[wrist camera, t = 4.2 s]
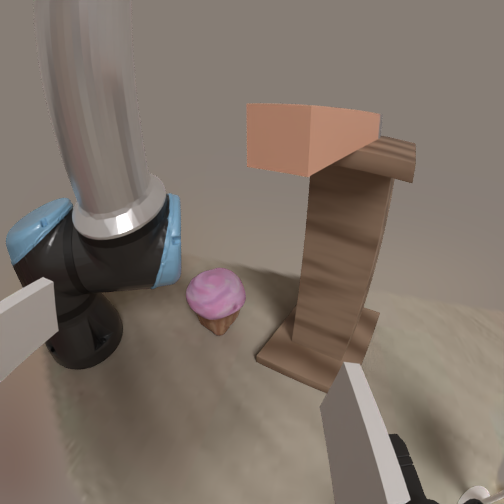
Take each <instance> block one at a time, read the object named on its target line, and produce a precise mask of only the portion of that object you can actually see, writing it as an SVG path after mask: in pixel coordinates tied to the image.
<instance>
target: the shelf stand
mask: <svg viewBox="0 0 504 504" xmlns="http://www.w3.org/2000/svg"><path fill="white" fill-rule="evenodd" d="M415 150H416V147H415V143H411V142H407V141H403V140H398V139H394V138H390V137H385V136H380V138H379V139H377V140H376V141H374V142H372V143H370V144H368V145H366V146H364V147H362V148H360V149H358V150H356V151H355V152H353V153H351V154H349V155H347V156H345V157H343V158H342V159H340V160H338V161H336V162H334V163H332V164H331V165H329V166H327V167H325V168H323V169H321V170H320V171H318V172H316V173H314V174H312V175H311V176H310V184H309V197H308V210H307V221H306V231H305V241H304V251H303V260H302V269H301V277H300V285H299V293H298V301H297V305H296V306H295V307H294V309H293V310H292V311H291V313H290V314H289V315H288V317H287V318H286V319H285V320H284V322H283V323H282V324H281V326H280V327H279V328H278V329H277V331H276V332H275V333H274V335H273V336H272V337H271V338H270V340H269V341H268V342H267V343H266V345H265V346H264V347H263V348H262V349H261V351H260V352H259V353H258V354H257V356H256V362H258V363H260V364H262V365H264V366H266V367H268V368H271V369H273V370H275V371H277V372H279V373H281V374H283V375H286V376H288V377H290V378H292V379H294V380H297V381H299V382H301V383H304V384H306V385H308V386H311V387H313V388H315V389H318V390H320V391H323V392H325V393H328V391H329V389H330V387H331V385H332V384H333V382H334V380H335V378H336V376H337V374H338V372H339V370H340V368H341V366H342V364H343V362H349V363H357V364H360V366H361V364H362V362H363V359H364V357H365V354H366V351H367V349H368V346H369V343H370V341H371V338H372V335H373V332H374V329H375V326H376V323H377V320H378V317H379V314H380V313H379V312H376V311H373V310H370V309H367V308H364V304H365V301H366V297H367V294H368V291H369V288H370V284H371V281H372V277H373V274H374V270H375V267H376V263H377V259H378V255H379V251H380V247H381V243H382V239H383V234H384V231H385V226H386V221H387V217H388V212H389V207H390V202H391V196H392V190H393V185H394V179H398V180H402V181H406V182H409V183H412V182H413V177H414V171H415V164H416V151H415Z"/></svg>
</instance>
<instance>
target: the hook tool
mask: <svg viewBox="0 0 504 504" xmlns="http://www.w3.org/2000/svg"><path fill="white" fill-rule="evenodd" d="M381 124H382V114H377V113H372V112H366V111H359V110H352V109H345V108H337V107H324V106H312V105H297V104H247V167H251V168H258V169H264V170H271V171H277V172H283V173H289V174H294V175H299V176H304V177H309V176H311V175H312V174H314V173H316V172H318V171H320V170H321V169H323V168H325V167H327V166H329V165H331V164H332V163H334V162H336V161H338V160H340V159H342V158H343V157H345V156H347V155H349V154H351V153H353V152H355V151H356V150H358V149H360V148H362V147H364V146H366V145H368V144H370V143H372V142H374V141H376V140H377V139H379V138H380V136H381Z"/></svg>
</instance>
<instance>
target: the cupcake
mask: <svg viewBox="0 0 504 504" xmlns="http://www.w3.org/2000/svg"><path fill="white" fill-rule="evenodd" d="M186 299H187V302H188V304H189V306H190V307H191V308H192V310H193V311H195V312H196V313H197V316H198V318H199V321H200V323H201V324H202V325H203V326H205V327H206V328H207V329H209V330H211V331H212V332H213V333H214V334H216V335H223V334H224V333H225V332H226V331H227V329H228V328H229V326H230V325H231V324H232V323H233V322H234V321H235V319H236V318H237V316H238V314H239V311H240V308H241V307H242V306H243V304H244V302H245V299H246V295H245V290H244V287H243V285H242V282H241V280H240V279H239V277H238V276H237V275H236V274H235V273H233V272H232V271H230V270H228V269H225V268H216V269H212V270H209V271H204V272H202V273H200V274H199V275H197V276H196V277H194V278H193V279H192V280H191V282H190V284H189V285H188V287H187V290H186Z"/></svg>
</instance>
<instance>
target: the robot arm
mask: <svg viewBox="0 0 504 504" xmlns="http://www.w3.org/2000/svg"><path fill="white" fill-rule="evenodd" d="M34 26H35V38H36V47H37V55H38V63H39V68H40V75H41V80H42V85H43V91H44V95H45V100H46V104H47V109H48V113H49V117H50V120H51V124H52V127H53V131H54V135H55V138H56V142H57V145H58V148H59V151H60V154H61V157H62V160H63V163H64V166H65V169H66V172H67V175H68V178H69V180H70V182H71V186H72V188H73V191H74V193H75V196H76V198H77V202H76V203H75V206H74V208H73V204H72V203H71V201H70V200H69V199H68V198H60V199H57V200H54V201H51V202H49V203H47V204H44V205H43V206H41V207H39V208H37V209H35V210H33V211H32V212H30V213H29V214H27V215H26V216H24V217H23V218H22V219H20V220H19V221H18V222H17V223H16V224H15V225H14V226H13V227H12V228H11V229H10V231H9V232H8V234H7V238H6V246H7V249H8V252H9V255H10V258H11V263H12V265H13V267H14V270H15V272H16V274H17V276H18V278H19V280H20V282H21V284H22V287H23V288H22V289H21V290H19V291H17V292H15V293H13V294H12V295H10V296H8V297H7V298H5V299H3V300H2V301H0V382H1V381H2V380H4V379H5V378H6V377H7V376H8V375H9V374H10V373H11V372H12V371H13V370H14V369H15V368H16V367H18V366H19V365H20V364H21V363H22V362H23V361H24V360H25V359H26V358H27V357H29V356H30V355H31V354H32V353H33V352H34V351H35V350H37V349H38V348H39V347H40V346H41V345H42V344H44V343H45V342H46V346H47V348H48V350H49V352H50V353H51V355H52V356H53V358H54V359H55V360H56V361H57V362H58V363H59V364H60V365H62V366H64V367H66V368H70V369H84V368H88V367H92V366H94V365H96V364H98V363H100V362H102V361H103V360H105V359H106V358H107V357H108V356H109V355H110V354H111V353H112V352H113V351H114V350H115V349H116V347H117V346H118V344H119V342H120V340H121V337H122V331H123V327H122V322H121V320H120V317H119V315H118V313H117V311H116V309H115V308H114V306H113V305H112V304H111V303H110V302H109V301H108V300H107V299H106V297H105V296H104V295H103V294H102V293H101V292H114V291H126V290H138V289H155V288H156V287H159V286H165V285H171V284H174V283H176V282H177V281H178V280H179V278H180V275H181V212H180V198H179V196H178V195H172V194H170V193H169V194H166V190H165V187H164V184H163V182H162V181H161V179H159V178H158V177H157V176H155V175H153V174H151V173H149V172H148V167H147V161H146V155H145V149H144V143H143V136H142V129H141V122H140V115H139V107H138V99H137V90H136V80H135V69H134V56H133V40H132V0H34ZM320 411H321V416H322V422H323V428H324V434H325V440H326V446H327V452H328V458H329V465H330V472H331V478H332V485H333V492H334V500H335V504H439V503H437V502H436V501H434V500H430V499H427V498H426V496H425V494H424V492H423V489H422V486H421V483H420V480H419V478H418V475H417V472H416V470H415V467H414V465H412V464H413V462H412V459H411V457H409V455H410V454H409V452H408V449H407V447H406V444H405V443H404V441H403V440H402V439H401V438H400V437H399V436H398V435H397V434H388V432H387V430H386V427H385V424H384V422H383V419H382V417H381V414H380V412H379V409H378V407H377V404H376V402H375V399H374V397H373V394H372V392H371V389H370V387H369V384H368V382H367V380H366V377H365V375H364V373H363V370H362V368H361V366H360V364H357V363H349V362H343V364H342V366H341V368H340V370H339V372H338V374H337V376H336V378H335V380H334V382H333V384H332V385H331V387H330V389H329V391H328V393H327V395H326V396H325V398H324V400H323V402H322V403H321V405H320ZM463 504H483V503H482V502H481V501H480V500H478V499H475V498H474V499H469V500H468V501H466V502H465V503H463Z"/></svg>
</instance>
